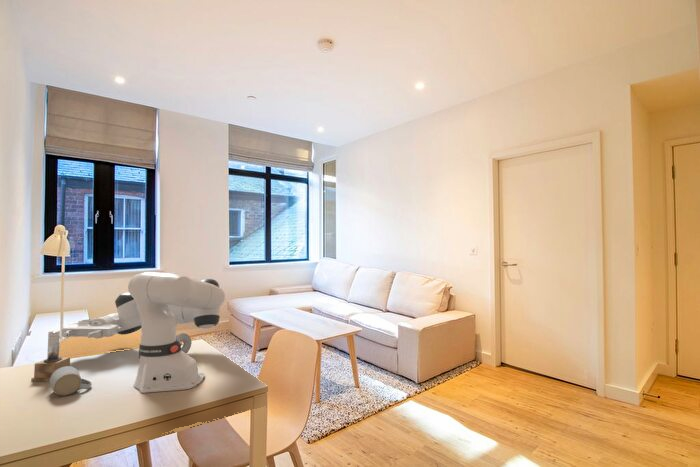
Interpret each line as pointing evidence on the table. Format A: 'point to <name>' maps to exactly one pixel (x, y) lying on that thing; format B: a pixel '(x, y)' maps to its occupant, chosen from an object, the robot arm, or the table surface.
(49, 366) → the walnut stand
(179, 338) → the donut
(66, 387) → the ceramic mug
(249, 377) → the table surface
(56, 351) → the brushed metal cylinder
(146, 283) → the robot arm
